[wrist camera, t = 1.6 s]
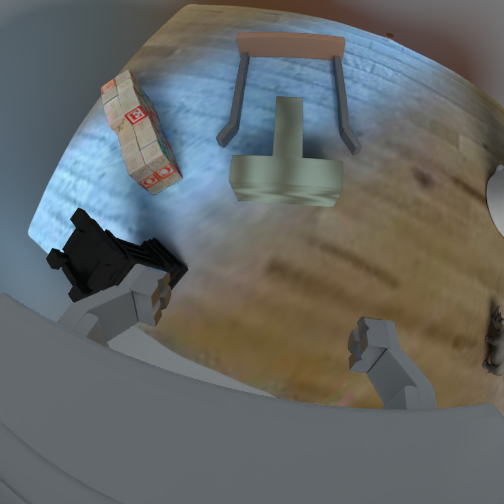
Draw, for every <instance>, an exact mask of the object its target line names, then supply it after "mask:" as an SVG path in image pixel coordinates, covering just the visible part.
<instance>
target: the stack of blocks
mask: <svg viewBox="0 0 504 504" xmlns="http://www.w3.org/2000/svg"><path fill="white" fill-rule="evenodd" d="M101 91H102V99H103V104H104V110H105V114H106V117H107V121H108V125H109V127H110V128H111V129H112V130H113V131H114V132H115V133H116V134H117V135H118V138H119V142H120V146H121V151H122V155H123V159H124V161H125V164H126V167H127V170H128V174H129V175H130V176H131V177H132V178H133V179H134V180H136V181H137V182H138V184H139V185H141V186H142V187H143V188H145V189H146V190H147V191H149V192H150V193H151V194H152V195H155V194H157V193H158V192H160V191H162V190H163V189H165V188H167V187H169V186H171V185H172V184H174V183H176V182H178V181H179V180H181V179H182V176H181V174H180V171H179V169H178V167H177V163H176V160H175V158H174V156H173V154H172V151H171V148H170V146H169V143H168V142H167V139H166V137H165V134H164V132H163V130H162V127H161V124H160V121H159V118H158V116H157V113H156V110H155V108H154V105H153V103H152V102H151V100H150V99H149V97H148V96H147V95H146V94H145V92H144V91H143V89H142V88H141V86H140V85H139V83H138V82H137V81H136V79H135V78H134V76H133V75H132V74H131V72H130V71H129V70H127V71H125V72H123V73H122V74H120V75H118V76H117V77H115V79H112V80H111V81H109V82H108V83H106V84H105V85H104V86H102V87H101Z"/></svg>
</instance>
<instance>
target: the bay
mask: <svg viewBox="0 0 504 504" xmlns="http://www.w3.org/2000/svg"><path fill="white" fill-rule="evenodd" d="M236 39H237V43H238V48H239V52H240V57H241V60H240V65H239V70H238V76H237V81H236V86H235V92H234V98H233V103H232V109H231V115H230V121H229V123H228V124H227V125H226V126H225V127H224V129H223V130H222V131H221V132H220V133H219V134H218V136H217V137H216V140H217V142H218V144H219V145H220V146H222V147H223V148H225V146H226V145H227V144H228V143H229V142H230V140H231V139H232V138H233V137H234V136H235V134H236V133H237V132H238V131H237V130H239V123H240V116H241V109H242V102H243V96H244V89H245V83H246V77H247V70H248V64H249V57H296V58H311V59H322V60H332V61H334V62H333V65H334V73H335V81H336V90H337V99H338V110H339V122H340V136H341V138H342V140H343V141H344V142H345V144H346V145H347V147H348V148H349V150H350V151H351V153H352V154H353V155H355V154H358V153H359V151H360V149H361V147H362V145H361V144H360V142H359V141H358V139H357V138H356V137H355V135H354V134H353V132H352V131H351V130H350V127H349V117H348V107H347V99H346V91H345V84H344V77H343V70H342V64H341V62H342V59H343V53H344V48H345V39H344V37H337V36H329V35H319V34H307V33H288V32H253V33H238V34H237V38H236Z"/></svg>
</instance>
